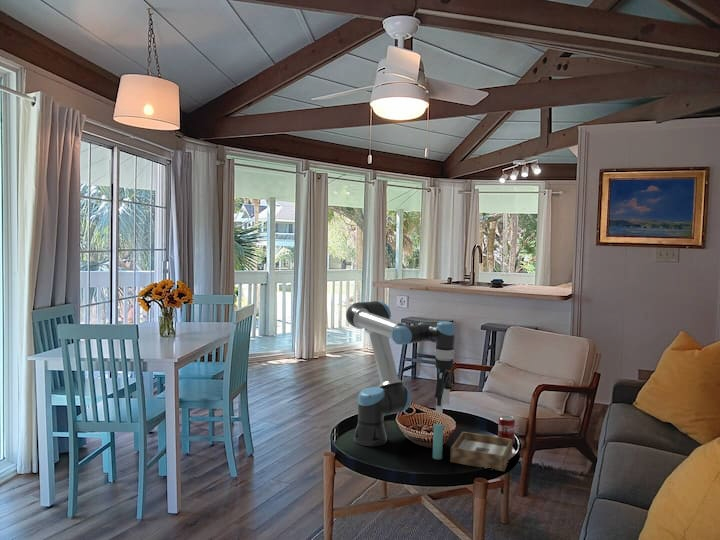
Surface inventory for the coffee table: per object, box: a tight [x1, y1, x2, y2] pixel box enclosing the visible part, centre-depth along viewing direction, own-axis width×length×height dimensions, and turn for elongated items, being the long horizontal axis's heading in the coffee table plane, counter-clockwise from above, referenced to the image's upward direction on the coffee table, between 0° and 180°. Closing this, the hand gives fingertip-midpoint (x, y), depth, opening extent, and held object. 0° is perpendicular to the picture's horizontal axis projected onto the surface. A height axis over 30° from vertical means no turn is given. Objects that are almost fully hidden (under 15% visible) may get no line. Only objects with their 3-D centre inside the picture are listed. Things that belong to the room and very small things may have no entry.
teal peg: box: [432, 423, 444, 461], centre depth 235 cm, size 4×4×14 cm
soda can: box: [497, 415, 516, 447], centre depth 254 cm, size 7×7×12 cm
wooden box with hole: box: [449, 431, 513, 472], centre depth 237 cm, size 22×22×6 cm
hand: (442, 408), depth 236 cm, fingers open, 13 cm apart
